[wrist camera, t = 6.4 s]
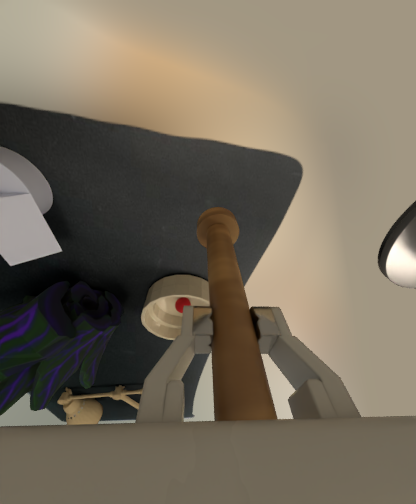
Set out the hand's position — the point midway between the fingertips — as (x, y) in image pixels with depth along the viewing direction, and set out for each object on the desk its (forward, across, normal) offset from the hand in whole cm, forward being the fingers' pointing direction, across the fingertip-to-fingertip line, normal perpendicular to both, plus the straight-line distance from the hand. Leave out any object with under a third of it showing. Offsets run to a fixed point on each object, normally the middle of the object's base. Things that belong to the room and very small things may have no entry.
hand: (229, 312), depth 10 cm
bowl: (+20, +4, +23) cm, 30 cm away
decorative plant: (+19, +29, +26) cm, 44 cm away
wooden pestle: (+10, 0, 0) cm, 10 cm away
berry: (+17, +4, +22) cm, 29 cm away
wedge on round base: (+19, +26, +2) cm, 33 cm away
